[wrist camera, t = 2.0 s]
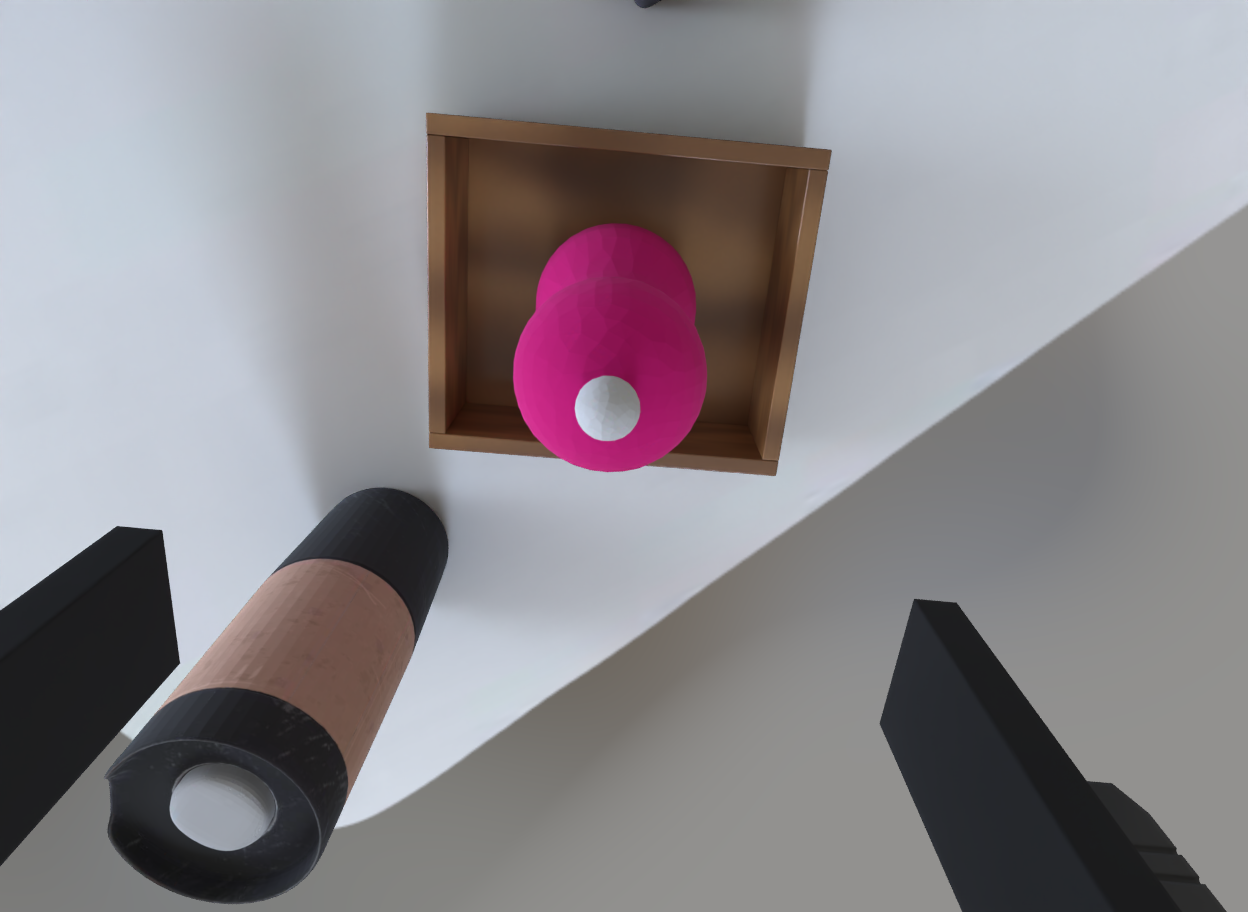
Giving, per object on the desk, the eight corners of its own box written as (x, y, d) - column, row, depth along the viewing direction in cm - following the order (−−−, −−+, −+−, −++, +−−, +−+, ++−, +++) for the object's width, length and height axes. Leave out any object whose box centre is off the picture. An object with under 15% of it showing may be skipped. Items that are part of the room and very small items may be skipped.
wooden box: (453, 117, 36) (425, 112, 31) (804, 150, 36) (832, 149, 31) (452, 413, 41) (428, 448, 36) (758, 438, 42) (776, 476, 37)
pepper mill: (541, 216, 37) (455, 279, 19) (690, 215, 37) (753, 276, 19) (548, 362, 40) (479, 543, 21) (688, 360, 40) (739, 542, 21)
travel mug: (480, 559, 45) (373, 851, 26) (380, 621, 46) (210, 938, 28) (395, 457, 42) (211, 696, 24) (292, 526, 44) (43, 801, 25)
